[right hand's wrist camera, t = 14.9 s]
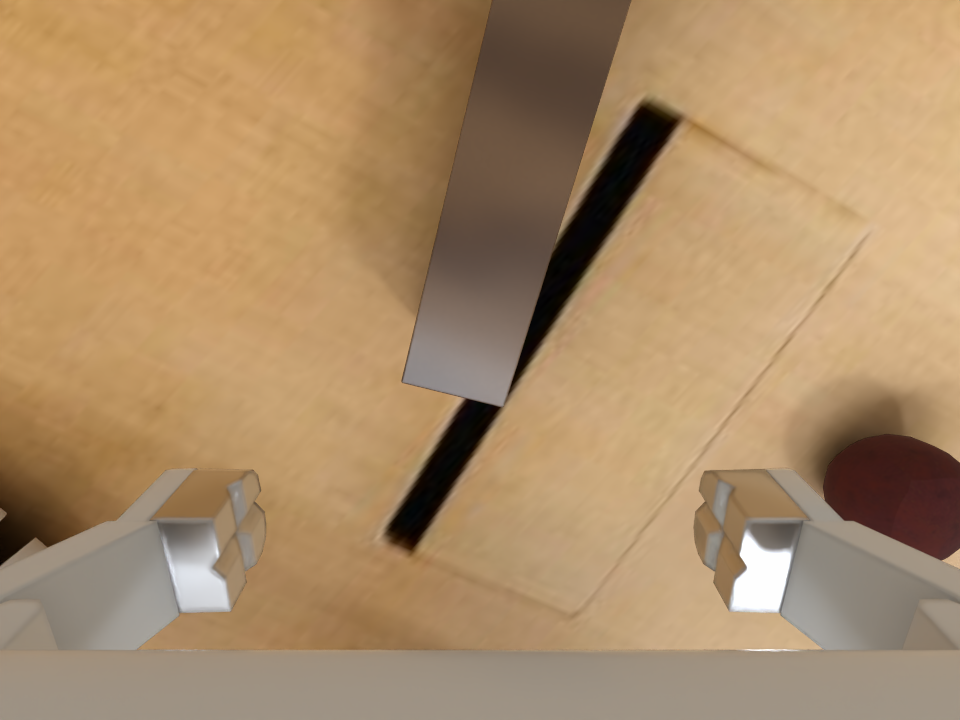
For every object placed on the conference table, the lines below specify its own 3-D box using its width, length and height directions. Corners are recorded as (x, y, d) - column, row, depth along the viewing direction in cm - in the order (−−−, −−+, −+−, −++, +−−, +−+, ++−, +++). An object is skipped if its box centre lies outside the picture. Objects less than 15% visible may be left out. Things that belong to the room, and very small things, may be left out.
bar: (497, 344, 34) (503, 408, 26) (420, 324, 34) (400, 383, 26) (638, -131, 26) (713, -261, 18) (539, -165, 26) (567, -315, 17)
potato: (930, 415, 36) (1032, 475, 29) (900, 517, 39) (987, 594, 32) (814, 416, 36) (889, 477, 29) (792, 518, 39) (856, 595, 32)
